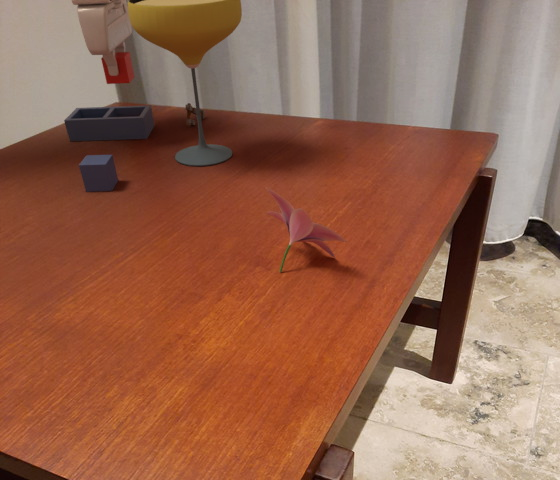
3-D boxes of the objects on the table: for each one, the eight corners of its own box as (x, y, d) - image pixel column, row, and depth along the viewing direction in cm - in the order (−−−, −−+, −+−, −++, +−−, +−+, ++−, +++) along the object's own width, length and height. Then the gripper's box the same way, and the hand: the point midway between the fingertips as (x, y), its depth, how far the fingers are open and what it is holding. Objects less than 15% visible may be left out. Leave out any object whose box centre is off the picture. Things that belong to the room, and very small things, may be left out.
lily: (347, 291, 69) (370, 214, 67) (261, 272, 65) (281, 188, 62) (310, 274, 80) (328, 206, 77) (234, 256, 75) (250, 184, 73)
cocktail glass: (233, 177, 96) (217, 6, 79) (139, 170, 100) (105, 6, 83) (263, 142, 109) (254, -12, 92) (178, 137, 113) (155, -11, 96)
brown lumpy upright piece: (182, 125, 115) (182, 102, 114) (196, 130, 123) (196, 108, 121) (190, 126, 115) (190, 102, 114) (204, 130, 122) (204, 108, 121)
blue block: (85, 191, 93) (78, 165, 90) (93, 181, 97) (86, 155, 94) (112, 191, 93) (105, 164, 90) (118, 180, 97) (112, 154, 94)
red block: (106, 84, 108) (101, 58, 105) (112, 78, 111) (107, 52, 108) (129, 83, 108) (124, 57, 105) (134, 77, 111) (129, 51, 108)
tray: (146, 138, 113) (142, 117, 110) (69, 141, 113) (63, 120, 111) (154, 125, 119) (151, 105, 117) (81, 128, 120) (76, 107, 117)
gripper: (98, -21, 107) (115, 59, 116) (66, -6, 92) (88, 85, 101) (130, -22, 107) (144, 58, 116) (103, -8, 92) (122, 83, 101)
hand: (118, 71), depth 109 cm, fingers closed on red block, 4 cm apart
